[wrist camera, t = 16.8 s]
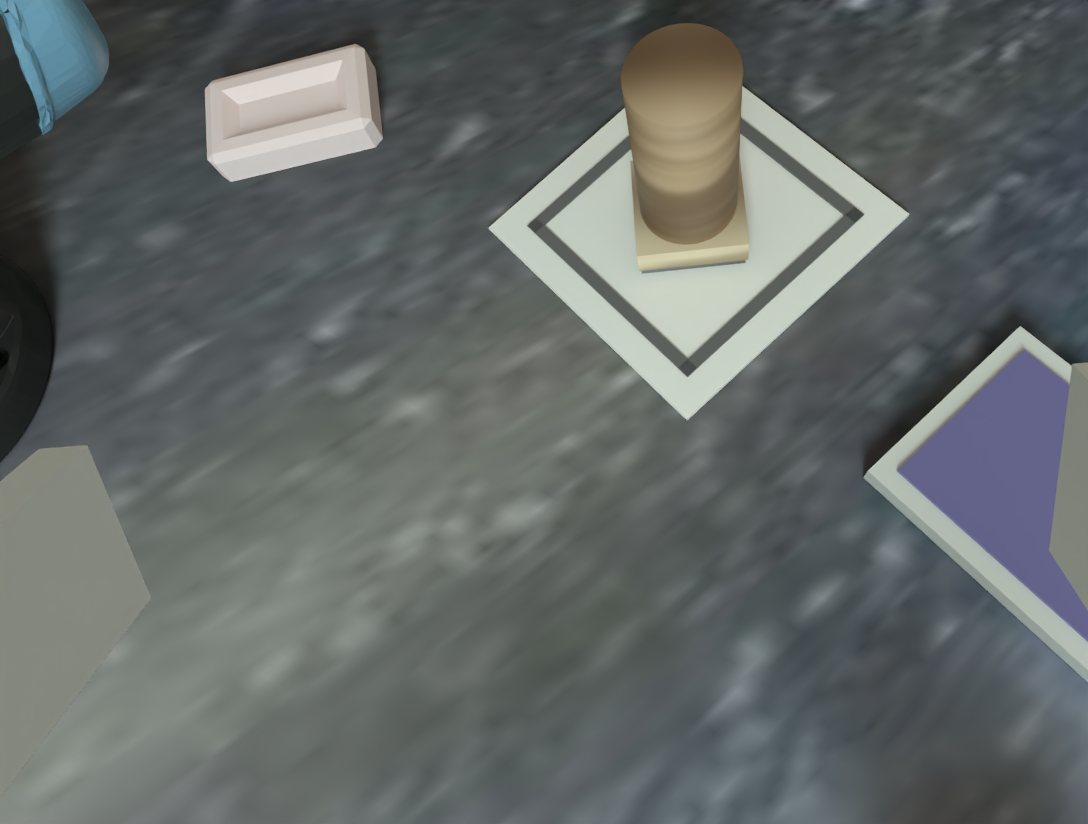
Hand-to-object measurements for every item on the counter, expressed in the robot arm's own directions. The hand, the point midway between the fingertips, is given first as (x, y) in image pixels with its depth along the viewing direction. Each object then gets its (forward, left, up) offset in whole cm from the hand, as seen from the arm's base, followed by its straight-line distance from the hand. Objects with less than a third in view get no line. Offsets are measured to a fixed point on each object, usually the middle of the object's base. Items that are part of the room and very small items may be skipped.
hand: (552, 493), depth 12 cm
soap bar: (-33, +4, -28) cm, 44 cm away
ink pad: (+7, +15, -28) cm, 32 cm away
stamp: (-13, +14, -27) cm, 34 cm away
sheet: (-13, +14, -28) cm, 34 cm away
